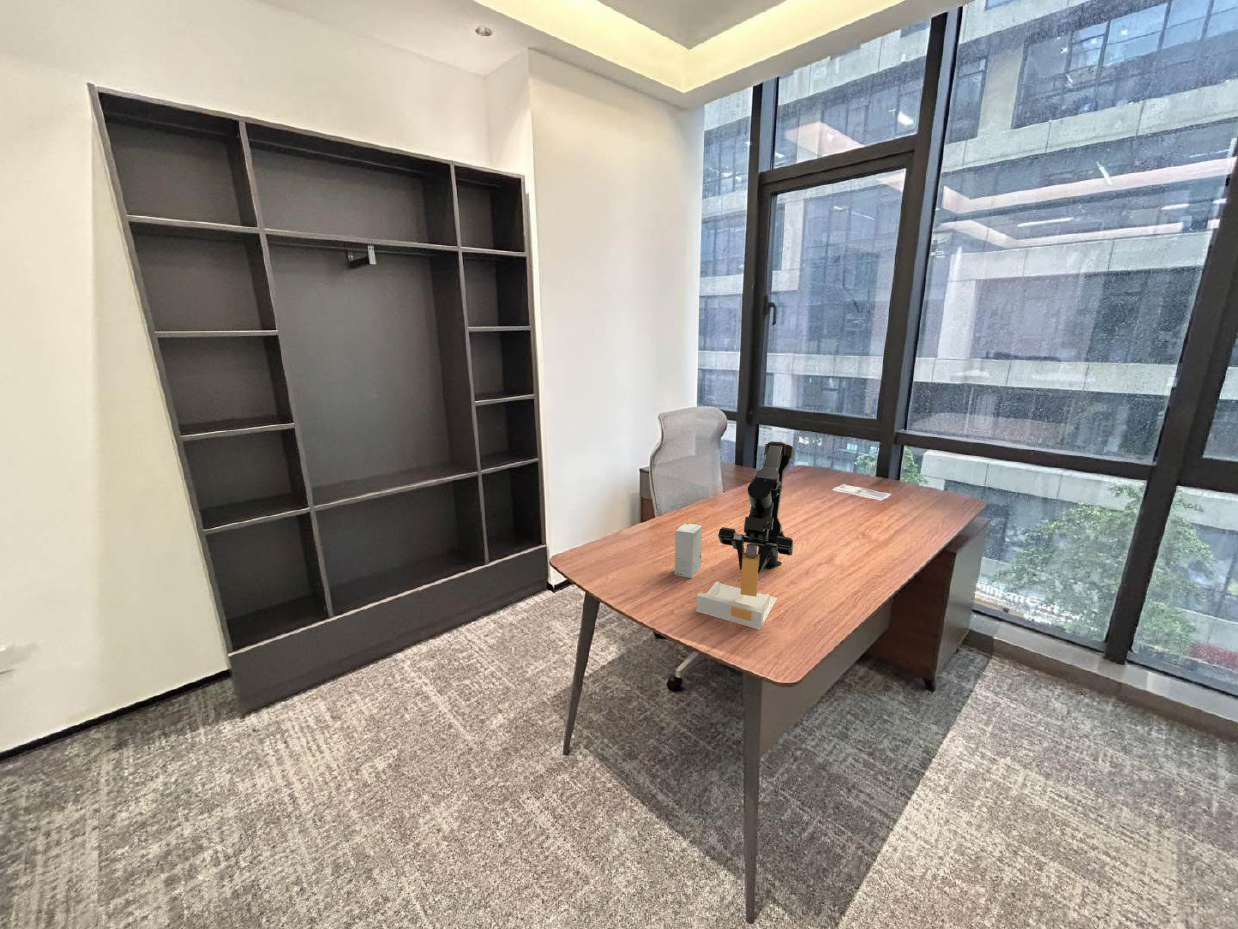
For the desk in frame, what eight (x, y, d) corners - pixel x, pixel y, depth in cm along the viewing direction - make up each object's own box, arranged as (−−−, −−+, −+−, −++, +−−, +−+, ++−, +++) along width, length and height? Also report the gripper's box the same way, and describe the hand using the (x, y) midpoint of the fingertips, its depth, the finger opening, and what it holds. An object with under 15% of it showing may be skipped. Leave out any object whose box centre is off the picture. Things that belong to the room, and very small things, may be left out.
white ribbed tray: (718, 584, 147) (719, 570, 146) (777, 599, 138) (778, 584, 137) (695, 612, 132) (695, 597, 131) (759, 631, 123) (760, 615, 122)
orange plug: (741, 587, 133) (744, 541, 130) (757, 589, 132) (760, 543, 128) (740, 594, 129) (742, 547, 126) (756, 596, 128) (759, 549, 125)
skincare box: (691, 580, 150) (693, 534, 146) (673, 575, 153) (674, 530, 149) (701, 569, 157) (703, 524, 153) (683, 565, 160) (684, 521, 156)
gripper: (721, 498, 132) (708, 553, 125) (795, 508, 124) (786, 566, 117) (726, 517, 141) (715, 569, 134) (796, 527, 133) (788, 582, 126)
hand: (749, 571), depth 128 cm, fingers closed on orange plug, 4 cm apart
